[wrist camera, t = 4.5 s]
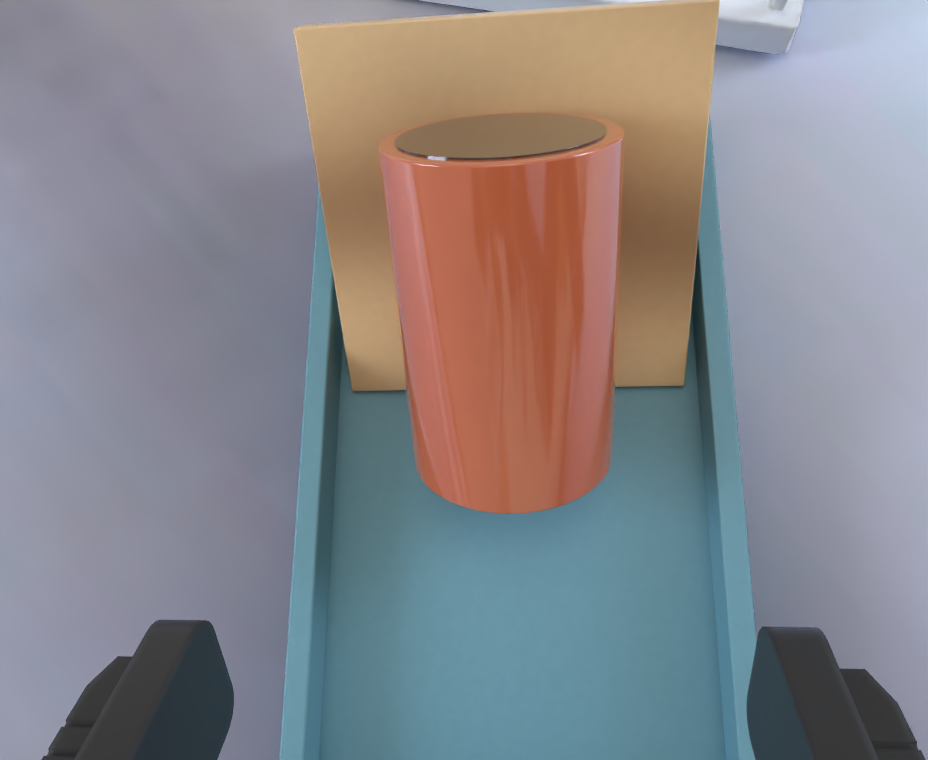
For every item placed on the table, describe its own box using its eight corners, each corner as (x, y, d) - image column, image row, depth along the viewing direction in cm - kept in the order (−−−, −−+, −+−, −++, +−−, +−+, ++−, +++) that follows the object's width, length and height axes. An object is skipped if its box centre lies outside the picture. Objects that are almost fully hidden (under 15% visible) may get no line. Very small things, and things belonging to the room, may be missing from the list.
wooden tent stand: (680, 391, 27) (749, 294, 18) (356, 396, 28) (268, 308, 19) (664, 160, 30) (717, -27, 21) (367, 173, 31) (294, 3, 22)
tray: (752, 844, 23) (777, 876, 21) (299, 824, 25) (271, 851, 22) (694, 129, 30) (707, 87, 28) (340, 147, 32) (323, 109, 29)
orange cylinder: (609, 527, 25) (659, 478, 14) (424, 526, 26) (336, 479, 15) (596, 221, 29) (630, -11, 18) (431, 228, 29) (363, 8, 18)
